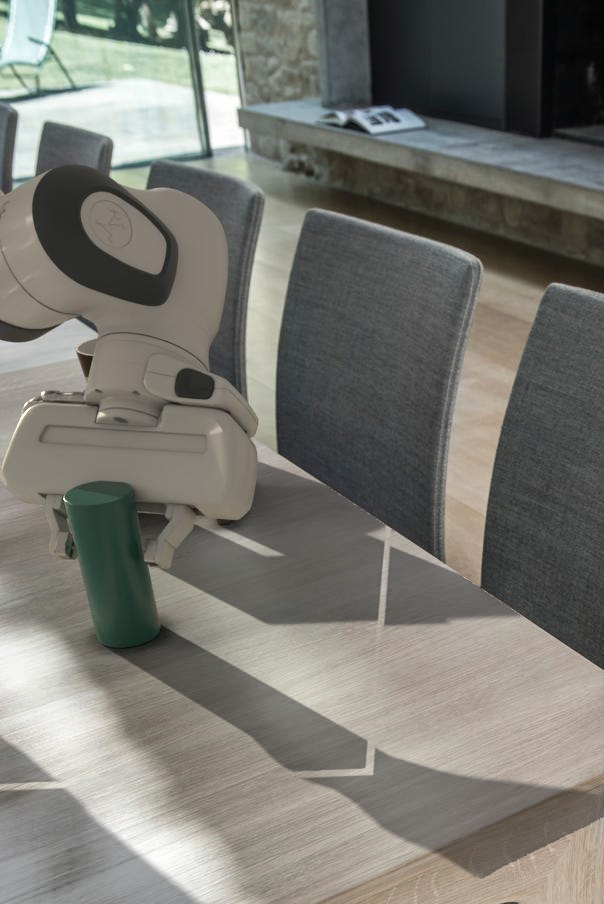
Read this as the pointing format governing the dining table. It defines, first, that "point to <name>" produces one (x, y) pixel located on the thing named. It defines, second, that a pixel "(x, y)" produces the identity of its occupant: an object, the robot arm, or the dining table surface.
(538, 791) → the dining table surface
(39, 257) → the robot arm
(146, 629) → the can
